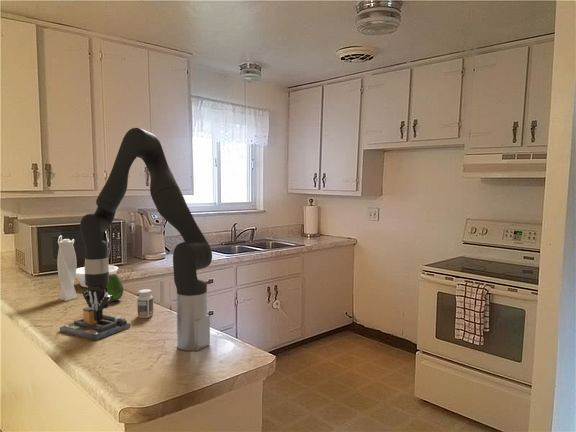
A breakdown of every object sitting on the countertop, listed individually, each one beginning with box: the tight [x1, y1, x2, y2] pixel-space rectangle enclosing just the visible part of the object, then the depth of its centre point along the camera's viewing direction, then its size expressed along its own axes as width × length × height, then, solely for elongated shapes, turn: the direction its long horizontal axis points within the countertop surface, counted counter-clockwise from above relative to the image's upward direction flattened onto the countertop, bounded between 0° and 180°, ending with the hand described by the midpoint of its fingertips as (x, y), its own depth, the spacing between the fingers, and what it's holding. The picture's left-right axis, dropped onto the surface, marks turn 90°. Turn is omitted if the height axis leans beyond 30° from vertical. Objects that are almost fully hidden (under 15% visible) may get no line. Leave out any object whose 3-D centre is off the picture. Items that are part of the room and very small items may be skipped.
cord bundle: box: [102, 313, 128, 325], centre depth 145 cm, size 16×3×2 cm, turn 63°
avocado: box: [107, 273, 124, 302], centre depth 175 cm, size 8×8×12 cm
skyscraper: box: [56, 235, 78, 302], centre depth 177 cm, size 8×8×28 cm
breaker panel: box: [59, 317, 131, 342], centre depth 141 cm, size 18×14×3 cm
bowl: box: [75, 264, 119, 288], centre depth 202 cm, size 21×21×8 cm
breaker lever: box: [82, 306, 97, 325], centre depth 141 cm, size 3×3×6 cm
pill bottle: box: [136, 288, 154, 319], centre depth 155 cm, size 6×6×10 cm
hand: (98, 320), depth 140 cm, fingers closed
